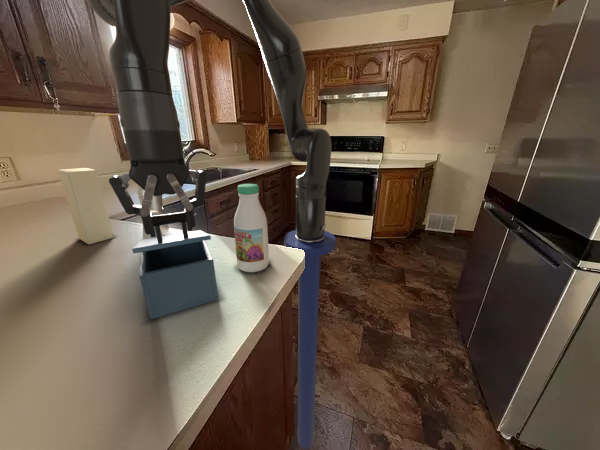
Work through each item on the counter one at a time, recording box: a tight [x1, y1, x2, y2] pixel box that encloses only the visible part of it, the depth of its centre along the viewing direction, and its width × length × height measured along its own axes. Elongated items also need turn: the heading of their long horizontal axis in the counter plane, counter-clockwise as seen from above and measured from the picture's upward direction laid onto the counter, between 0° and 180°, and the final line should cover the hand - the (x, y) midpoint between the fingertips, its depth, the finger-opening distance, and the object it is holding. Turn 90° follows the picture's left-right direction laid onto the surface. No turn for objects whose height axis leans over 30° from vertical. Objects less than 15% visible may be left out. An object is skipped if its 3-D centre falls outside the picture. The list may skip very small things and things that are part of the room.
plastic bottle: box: [135, 184, 170, 236], centre depth 74 cm, size 6×7×20 cm
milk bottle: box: [233, 183, 270, 273], centre depth 57 cm, size 8×8×20 cm
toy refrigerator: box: [57, 167, 114, 245], centre depth 73 cm, size 8×7×21 cm
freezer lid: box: [132, 211, 212, 254], centre depth 47 cm, size 15×12×5 cm
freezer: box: [138, 240, 219, 320], centre depth 50 cm, size 15×12×9 cm
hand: (171, 232), depth 43 cm, fingers closed on freezer lid, 5 cm apart
